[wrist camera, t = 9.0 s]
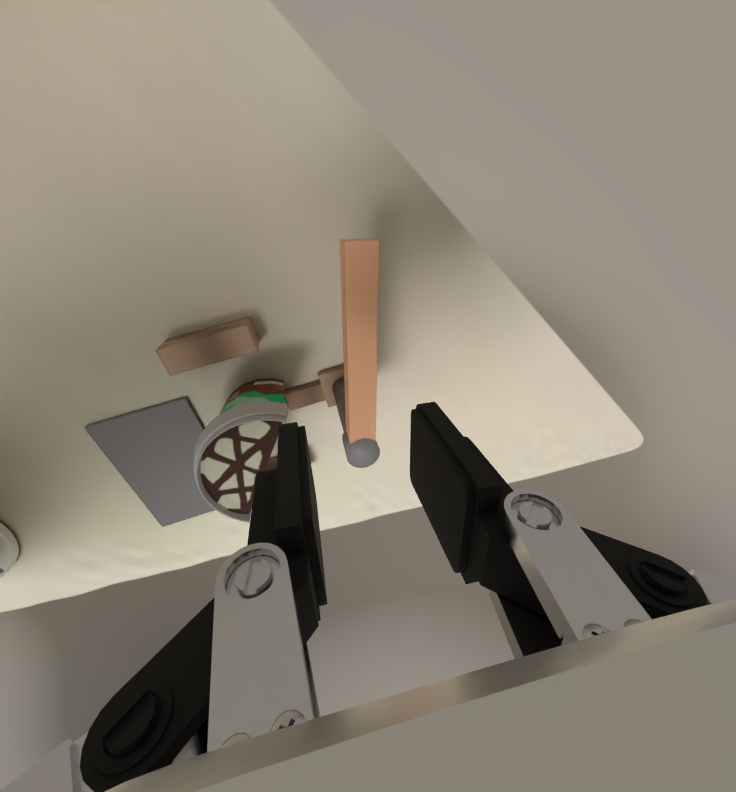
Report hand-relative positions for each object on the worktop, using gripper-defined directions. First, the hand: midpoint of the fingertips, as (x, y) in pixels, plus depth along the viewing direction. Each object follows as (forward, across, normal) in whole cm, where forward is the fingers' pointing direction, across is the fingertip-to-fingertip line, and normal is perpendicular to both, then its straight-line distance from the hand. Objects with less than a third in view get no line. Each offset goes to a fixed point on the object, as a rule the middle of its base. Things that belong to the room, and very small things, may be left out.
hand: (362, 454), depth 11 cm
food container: (+25, +9, +11) cm, 29 cm away
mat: (+25, +18, +17) cm, 35 cm away
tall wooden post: (+14, -2, +3) cm, 15 cm away
